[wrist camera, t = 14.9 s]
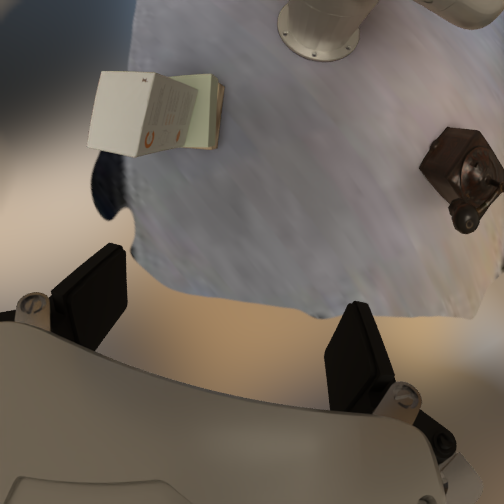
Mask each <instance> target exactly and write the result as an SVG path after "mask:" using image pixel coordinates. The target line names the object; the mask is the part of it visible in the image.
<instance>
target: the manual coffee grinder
mask: <svg viewBox="0 0 504 504" xmlns="http://www.w3.org/2000/svg"><path fill="white" fill-rule="evenodd" d="M419 169H420V170H421V171H422V173H423V174H424V176H425V177H426V178H427V180H428V181H429V182H430V183H431V184H432V185H433V187H434V188H435V189H436V190H437V191H438V192H439V194H440V195H441V196H442V197H443V198H444V199H445V200H446V201H447V202H448V203H449V204H450V205H449V207H448V209H449V212H450V215H451V216H452V221H453V225H454V227H455V229H456V230H457V231H459V232H460V233H462V234H469V233H472V232H474V231H475V230H476V229H477V227H478V225H479V222H480V219H481V218H482V216H483V215H484V214H485V212H486V211H487V209H488V208H489V206H490V205H491V204H492V203H493V202H494V201H495V199H496V198H497V197H498V196H499V195H500V194H501V193H502V192H504V169H503V167H502V165H501V164H500V162H499V160H498V159H497V157H496V155H495V154H494V152H493V150H492V149H491V147H490V146H489V144H488V142H487V141H486V140H485V138H484V137H483V135H482V134H481V132H480V131H478V130H470V129H460V128H450V127H447V128H446V129H445V130H444V132H443V133H442V134H441V135H440V137H439V138H438V139H437V140H435V141H434V143H433V144H432V146H431V148H430V151H429V152H428V154H427V155H426V157H425V158H424V160H423V162H422V164H421V166H420V168H419Z"/></svg>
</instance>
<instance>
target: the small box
mask: <svg viewBox="0 0 504 504" xmlns="http://www.w3.org/2000/svg"><path fill="white" fill-rule="evenodd" d="M197 93H198V90H197V89H195V88H193V87H191V86H189V85H187V84H184V83H182V82H179V81H176V80H174V79H171V78H168V77H166V76H163V75H161V74H158V73H155V72H129V71H102V72H101V76H100V80H99V84H98V88H97V92H96V97H95V102H94V106H93V111H92V117H91V123H90V129H89V135H88V142H87V147H88V148H92V149H98V150H102V151H107V152H112V153H116V154H121V155H125V156H130V157H134V158H136V157H139V156H143V155H146V154H151V153H155V152H159V151H164V150H169V149H173V148H178V147H182V146H184V144H185V140H186V136H187V132H188V127H189V123H190V119H191V116H192V112H193V108H194V104H195V100H196V96H197Z"/></svg>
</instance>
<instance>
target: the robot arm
mask: <svg viewBox="0 0 504 504" xmlns="http://www.w3.org/2000/svg"><path fill="white" fill-rule="evenodd" d="M413 1H415V2H417V3H418V4H420V5H422V6H424V7H425V8H427V9H428V10H430V11H432V12H434V13H435V14H437V15H438V16H440V17H441V18H443V19H445V20H446V21H448V22H450V23H451V24H453V25H455V26H458V27H460V28H463V29H468V30H476V29H480V28H483V27H485V26H487V25H489V24H490V23H491V22H493V21H494V20H495V19H496V18H497V17H498V16H499V15H500V14H501V12H502V11H503V10H504V0H413ZM378 2H379V0H289V2H288V3H287V4H286V5H285V6H284V7H283V8H282V10H281V11H280V13H279V16H278V23H277V25H278V31H279V35H280V37H281V39H282V40H283V42H284V43H285V44H286V46H287V47H288V48H290V49H291V50H292V51H293V52H295V53H296V54H298V55H299V56H302V57H304V58H306V59H309V60H313V61H319V62H331V61H336V60H339V59H342V58H344V57H346V56H347V55H349V54H350V53H351V52H352V51H353V50H354V49H355V47H356V46H357V44H358V41H359V36H360V31H359V26H360V24H361V23H362V22H363V21H364V19H365V18H366V17H367V16H368V14H369V13H370V12H371V11H372V9H373V8H374V7H375V6H376V4H377V3H378ZM284 34H286V35H287V36H284ZM346 48H348V50H346ZM312 55H315V56H316V57H313V56H312ZM126 281H127V280H126V251H125V250H123V247H122V246H121V245H117V244H113V243H108V244H107V245H106V246H104V247H103V248H102V249H100V250H99V251H98V252H97V253H95V254H94V255H93V256H92V257H90V258H89V259H88V260H87V261H86V262H84V263H83V264H82V265H80V266H79V267H78V268H77V269H76V270H75V271H73V272H72V273H71V274H70V275H69V276H67V278H65V279H64V280H63V281H62V282H60V283H59V284H58V285H57V286H56V287H55V288H54V289H53V290H52V291H51V294H52V295H51V296H50V297H49V298H48V297H47V295H45V294H43V293H39V292H33V293H29V294H27V295H25V296H23V297H22V298H21V299H20V300H19V301H18V303H17V306H16V310H12V311H6V312H1V313H0V504H475V503H476V501H477V500H478V499H479V497H480V496H481V494H482V491H483V482H482V480H481V478H480V476H479V475H478V474H477V473H476V471H475V470H474V469H473V468H472V466H471V465H470V464H469V462H468V461H467V460H466V459H465V458H464V456H463V455H462V454H461V453H460V452H458V453H456V452H455V451H456V440H455V437H454V436H453V434H452V433H451V432H450V431H449V430H447V429H446V428H445V427H443V426H442V425H441V424H439V423H438V422H437V421H435V420H434V419H433V418H431V417H430V416H428V415H427V414H426V413H424V412H423V411H422V410H420V408H421V405H422V398H421V395H420V393H419V392H418V390H417V389H416V388H415V387H414V386H412V385H411V384H409V383H406V382H396V381H395V378H394V376H395V374H394V371H393V368H392V366H391V363H390V360H389V357H388V354H387V351H386V349H385V346H384V343H383V341H382V338H381V335H380V333H379V330H378V328H377V325H376V323H375V320H374V317H373V315H372V313H371V310H370V308H369V305H368V304H367V303H364V302H359V301H354V302H353V303H352V304H351V303H349V304H348V305H347V307H346V309H345V312H344V314H343V316H342V318H341V320H340V322H339V324H338V326H337V328H336V331H335V332H334V334H333V337H332V338H331V341H330V342H329V344H328V346H327V348H326V350H325V354H324V361H325V369H326V377H327V386H328V394H329V404H330V410H320V409H313V408H304V407H297V406H289V405H282V404H276V403H270V402H264V401H259V400H253V399H248V398H243V397H239V396H234V395H229V394H225V393H220V392H216V391H212V390H208V389H204V388H200V387H196V386H192V385H189V384H186V383H182V382H179V381H175V380H172V379H169V378H165V377H162V376H159V375H156V374H153V373H150V372H147V371H144V370H141V369H139V368H136V367H133V366H130V365H127V364H125V363H122V362H120V361H117V360H114V359H112V358H109V357H107V356H104V355H102V354H100V353H97V352H95V350H96V349H97V348H98V346H99V345H100V343H101V342H102V341H103V339H104V338H105V336H106V335H107V334H108V332H109V331H110V329H111V328H112V327H113V326H114V324H115V323H116V321H117V320H118V319H119V317H120V316H121V315H122V313H123V312H124V311H125V309H126V307H127V302H128V300H127V282H126Z"/></svg>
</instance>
